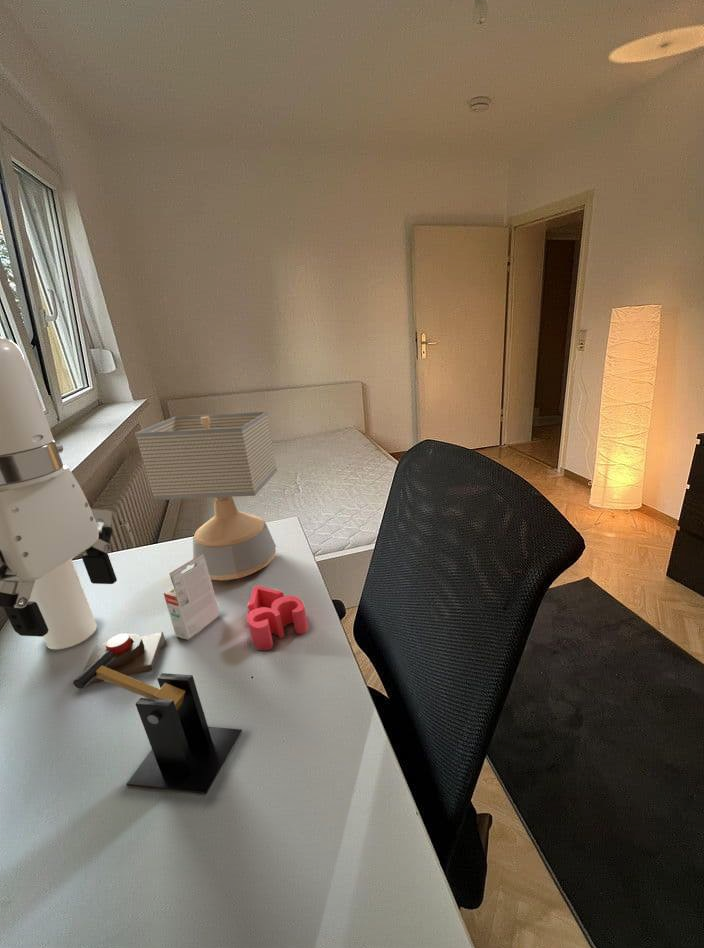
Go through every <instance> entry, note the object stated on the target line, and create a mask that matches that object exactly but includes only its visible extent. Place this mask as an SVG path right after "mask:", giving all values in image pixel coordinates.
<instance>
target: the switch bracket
mask: <svg viewBox="0 0 704 948" xmlns="http://www.w3.org/2000/svg"><path fill="white" fill-rule="evenodd" d="M156 680H157V683H158V685H159V689H160V688H161V687H162V686H163V685H164V684H165V683H167V684H169V685H172V686H174V687H177V688H179V689H182V690H184V691H185V695H184V699H183V703H182V704H181V706H180V707H179V708H178V710H176V707H175V704H174V701H173V700H167V699H153V698H145V697H140V698H138V700H137V701H136V702H135V707H136V710H137V713H138V715H139V718H140V720H141V723H142V726H143V729H144V731H145V734H146V736H147V739H148V742H149V745H150V747H151V750H150V752H149V753H148V754H147V755H146V756H145V758H144V760H143V761H142V762H141V763H140V765H139V766H138V767H137V769H136V770H135V772H134V773H133V774H132V776H131V777H130V778H129V780H128V781H127V783H126V786H129V787H130V786H131V787H141V788H151V789H158V790H167V791H176V792H177V791H178V792H186V793H194V794H195V793H196V794H202V795H207V794H208V793H209V791H210V789H211V787H212V786H213V783H214V781H215V780H216V778H217V776H218V774H219V773H220V771H221V769H222V767H223V766H224V764H225V762H226V760H227V759H228V756H229V754H230V753H231V751H232V749H233V748H234V746H235V744H236V742H237V740H238V739H239V737H240V735H241V733H242V731H243V730H242V729H241V728H240V729H239V728H229V727H228V728H226V727H217V726H209V725H208V722H207V719H206V715H205V713H204V712H205V711H204V708H203V705H202V702H201V698H200V695H199V692H198V689H197V685H196V683H195V678H194V676H193V674H182V673H181V674H179V673H168V672H167V673H166V672H165V673H164V672H162V673H160V675H158V677H157V679H156Z"/></svg>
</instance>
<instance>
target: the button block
mask: <svg viewBox="0 0 704 948" xmlns="http://www.w3.org/2000/svg"><path fill="white" fill-rule="evenodd" d="M128 634H129V636H130V639H131V641H132V646H131V647H130V648H129V649H128V650H126V651H124V652H122V653H120V654H115V655H114V659H113V660H112V661H111V662H110V663H109V664H108V665H107V666H106V667H107V668H109V669H112V670H114V671H117V672H119V673H122V674H124V675H127V676H129V677H131V676H133V675H139V674H142V673H147V672H151V671H154V669H155V665H156V663H157V660H158V657H159V654H160V651H161V648H162V647H163V648H164V647H165V644H166V638H165V634H164V631H158V632H154V633H150V634H144V635H140V634H139V633H138V634H137V633H128ZM106 651H107V648H106V642H105V643H102V644H97V645H96V646H95V648H94V649H93V651H92V653H91V655H90V657H89V659H88V661H87V662H86V664H85V666H84V667H83V669H82V672H81V673H83V672H84V671H85V670H86V669H87V668H88V667H89V666H90V665H91V664H92V663H93V662H94V661H96V660H97V659H98V658H99V657H100V656H101V655H102V654H103V653H104V652H106ZM103 682H105V681H104V680H102V679H99V678H97V677H94V678H93V679H92V680H91V681H90V682H89V683H88V684H87V685H86V686H89V685H94V684H98V683H103Z"/></svg>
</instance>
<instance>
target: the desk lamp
mask: <svg viewBox="0 0 704 948" xmlns="http://www.w3.org/2000/svg"><path fill="white" fill-rule="evenodd" d="M134 436H135V438H136V441H137V445H138V448H139V452H140V455H141V459H142V462H143V466H144V469H145V472H146V476H147V479H148V484H149V486H150V490H151V493H152V499H153V501H170V500H171V501H173V500H190V499H191V500H193V499H211V498H212V499H213V498H215V499H214V500H213V506H214V516H212V517H211V518H210V519H209V520H207V521H206V522H204V524H202V525H201V526H200V527H198V528H197V529H196V531H195V533H194V534H193V535H194V536H193V537H192V560H193V559H194V558H196V557H198V556H199V555H201V554H204V558H205V561H206V565H207V569H208V573H209V575H210V578H211V581H233V580H239V579H242V578H246V577H249V576H251V575H253V574H254V573H256V572H258V571H260V570H261V569H263V568H265V567H266V566H268V565H269V564H270V563H271V562H272V561H273V560H274V559H275V558H276V552H277V549H276V547H277V545H276V543H275V540H274V539H273V536H272V533H271V531H270V530H269V527H268V525H267V523H266V522H265V521H264V519H263V518H261V516H259V515H256V514H252V513H247V512H244V511H240V510H238V509H237V506H236V504H235V501H234V499H233V498H235V497H237V498H238V497H256V495H257V494H258V493H259V492H260V491H261V490H262V489H263V488H264V486H265V485H266V484H267V483H268V482H269V481H270V480H271V478H273V476H274V475H275V474H276V473H277V472H278V467H277V464H276V458H275V452H274V447H273V440H272V435H271V430H270V423H269V418H268V411H252V412H251V411H249V412H233V413H232V412H231V413H216V414H215V413H213V414H196V415H180V416H179V415H177V416H173V417H170V418H168V419H165V420H163V421H160V422H159V423H156V424H153V425H151V426H149V427H146V428H143V429H141V430H139V431H136V432H134ZM195 565H196V564H195V563H194V564H192V566H193V567H194V566H195Z"/></svg>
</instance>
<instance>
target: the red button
mask: <svg viewBox="0 0 704 948" xmlns="http://www.w3.org/2000/svg"><path fill="white" fill-rule="evenodd" d="M129 634H130V633H126V632H123V633H118V634H116V635H113V636H111V637H110V638H109V639H107V640H106V642H105V643H106V648H107V651H110V652H112V653H113V654H114V655H115V654H120V653H122V652H124V651H126V650H128V649H129V648H130V647H131V646H132V641H131V639H130V636H129Z"/></svg>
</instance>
